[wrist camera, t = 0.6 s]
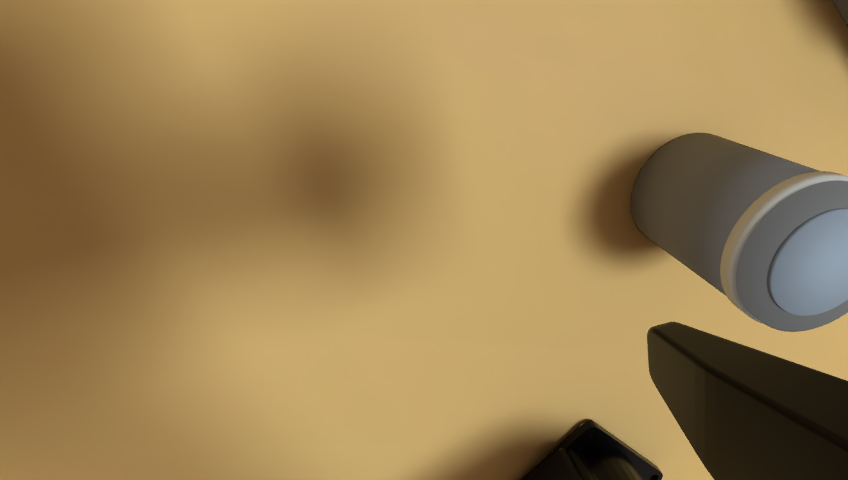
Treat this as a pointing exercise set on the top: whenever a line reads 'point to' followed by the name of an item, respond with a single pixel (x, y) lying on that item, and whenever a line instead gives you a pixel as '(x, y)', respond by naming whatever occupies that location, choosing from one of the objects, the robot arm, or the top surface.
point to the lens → (750, 227)
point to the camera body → (842, 8)
